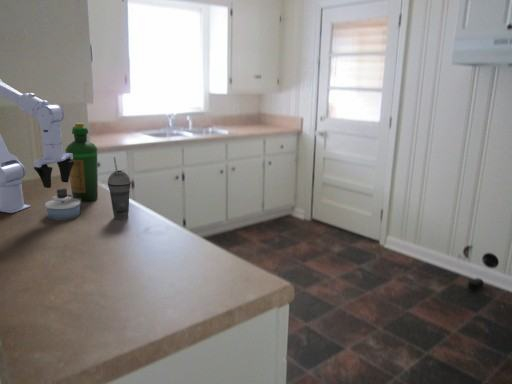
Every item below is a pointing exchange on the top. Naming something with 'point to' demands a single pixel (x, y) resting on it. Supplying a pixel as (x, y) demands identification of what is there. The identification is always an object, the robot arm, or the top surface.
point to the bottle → (83, 165)
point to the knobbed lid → (62, 195)
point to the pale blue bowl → (63, 209)
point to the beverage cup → (119, 193)
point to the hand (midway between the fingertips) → (56, 184)
